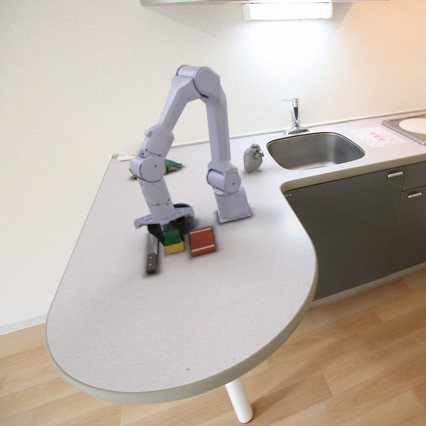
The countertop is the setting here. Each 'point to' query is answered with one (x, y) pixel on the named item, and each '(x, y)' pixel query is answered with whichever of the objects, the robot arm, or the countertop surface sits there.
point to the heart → (253, 158)
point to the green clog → (169, 166)
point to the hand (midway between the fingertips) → (174, 242)
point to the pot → (172, 224)
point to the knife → (152, 255)
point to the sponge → (173, 241)
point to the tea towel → (202, 241)
